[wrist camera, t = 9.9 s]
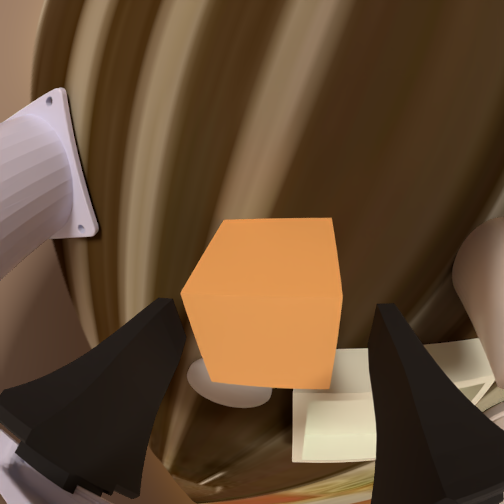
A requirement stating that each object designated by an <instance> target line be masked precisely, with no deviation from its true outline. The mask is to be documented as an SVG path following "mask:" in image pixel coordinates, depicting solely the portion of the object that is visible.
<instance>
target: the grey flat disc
mask: <svg viewBox="0 0 504 504" xmlns="http://www.w3.org/2000/svg"><path fill="white" fill-rule="evenodd" d="M187 380H188V382H189V384H190V385H191V387H192V388H193V389H194V390H195V391H196V392H197V393H199V394H200V395H202V396H203V397H205V398H207V399H209V400H211V401H213V402H215V403H218V404H221V405H225V406H230V407H237V408H250V407H256V406H259V405H262V404H264V403H265V402H267V401H268V400H269V399H270V397H271V393H272V388H271V387H257V386H246V385H236V384H227V383H218V382H212V381H211V379H210V376H209V374H208V371H207V368H206V366H205V363H204V360H203V358H201V359H198V360H196V361H194V362H193V363H192V364H191V366H190V368H189V370H188V373H187Z"/></svg>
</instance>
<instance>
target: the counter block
mask: <svg viewBox="0 0 504 504" xmlns="http://www.w3.org/2000/svg"><path fill="white" fill-rule="evenodd" d="M181 296H182V299H183V303H184V306H185V309H186V312H187V315H188V318H189V321H190V324H191V327H192V330H193V333H194V335H195V338H196V341H197V344H198V347H199V349H200V352H201V355H202V358H203V360H204V363H205V366H206V368H207V371H208V374H209V376H210V379H211V381H212V382H218V383H227V384H236V385H246V386H257V387H271V388H290V389H329V388H330V383H331V377H332V371H333V365H334V359H335V353H336V346H337V339H338V332H339V324H340V316H341V308H342V298H343V296H342V287H341V279H340V271H339V263H338V256H337V249H336V242H335V236H334V229H333V223H332V218H281V219H239V220H223V222H222V224H221V225H220V227H219V229H218V230H217V232H216V234H215V235H214V237H213V239H212V240H211V242H210V244H209V245H208V247H207V249H206V250H205V252H204V254H203V255H202V257H201V259H200V260H199V262H198V264H197V266H196V267H195V269H194V271H193V272H192V274H191V276H190V278H189V279H188V281H187V283H186V284H185V286H184V288H183V290H182V291H181Z"/></svg>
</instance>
